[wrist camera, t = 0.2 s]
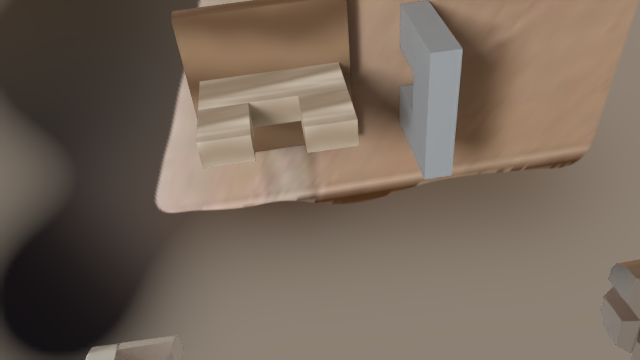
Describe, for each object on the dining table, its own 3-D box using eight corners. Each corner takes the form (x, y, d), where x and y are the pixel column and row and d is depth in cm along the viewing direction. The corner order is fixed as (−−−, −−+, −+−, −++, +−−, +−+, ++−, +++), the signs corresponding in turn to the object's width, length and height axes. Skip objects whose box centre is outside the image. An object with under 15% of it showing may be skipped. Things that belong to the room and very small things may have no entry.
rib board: (172, 11, 46) (161, 75, 38) (343, -12, 47) (368, 46, 39) (208, 149, 55) (206, 224, 47) (351, 128, 56) (373, 199, 48)
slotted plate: (400, 4, 48) (430, 53, 41) (428, 0, 48) (462, 48, 41) (399, 121, 56) (424, 179, 49) (423, 117, 56) (451, 175, 49)
